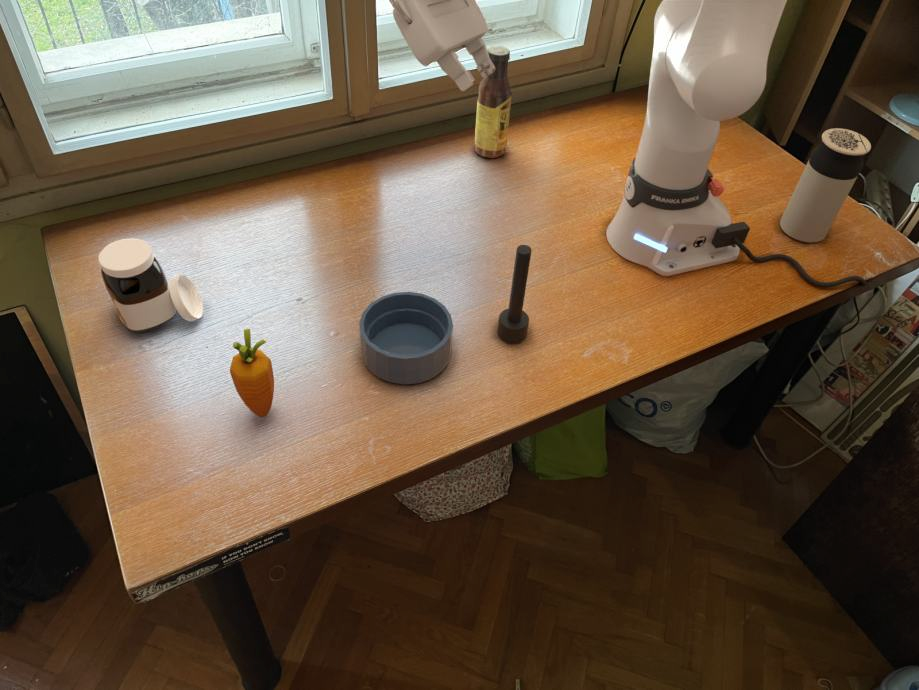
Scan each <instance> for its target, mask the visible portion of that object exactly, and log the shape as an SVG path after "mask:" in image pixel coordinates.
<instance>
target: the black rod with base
mask: <svg viewBox="0 0 919 690" xmlns="http://www.w3.org/2000/svg"><path fill="white" fill-rule="evenodd" d="M532 251H533V250H532V248H531V247H530V245H528V244H520V245H518V246H517V247H516V251H515V257H514V258H515V259H514V265H513V273H512V278H511V279H512V281H511V289H510V294H509V301H508V308H505V309H503V310H502V311H501V312H500V313H499V315H498V323H497V329H496V330H497V331H496V332H497V333H496V334H497V336H498V338H499V340H501V341H502V342H504V343H506V344H509V345H518V344H521V343H522V342H524V341H525V340H526V338H527V335H528V334H527V333H528V329H529V324H530V317H529V315H528V313H526V311H524V310H523V309H524V302H525V296H526V290H527V282H528V276H529V271H530V264H531V259H532V258H531V257H532Z"/></svg>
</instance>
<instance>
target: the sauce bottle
mask: <svg viewBox="0 0 919 690" xmlns="http://www.w3.org/2000/svg"><path fill="white" fill-rule="evenodd" d="M487 51H488V54H489V57H490V60H491V61H492V63H493V65H494V66H495V71H494V72H493V73H491V74H490V75H489V76H487V77H485V78H483V77H482V79H481V81H480V83H479V85H478V97H477V102H476V115H475V128H474V129H475V130H474V151H475V152H476V153H477V155H479V156H481V157H482V158H483V157H484V158H488V159H489V158H490V159H495V158H499V157H501V156H502V155H504V154H505V152H506V146H507V142H508V134H509V125H510V114H511V106H512V105H511V104H512V96H513V92H512V89H511V85H510V80H509V77H508V69H509V68H508V67H509V61H510V57H511V56H510V55H511V51H510V49H509V48H507V47H505V46H502V45H492V46H490V47H488V48H487Z"/></svg>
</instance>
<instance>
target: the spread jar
mask: <svg viewBox="0 0 919 690" xmlns="http://www.w3.org/2000/svg"><path fill="white" fill-rule="evenodd" d="M153 252H154V251H153V250H152V247H151V245H150V244H149V242H147V241H146V240H143V239H139V238H135V237H133V238H131V237H129V238H121V239H118V240H115V241H113V242H111V243H109V244H107V245H106V246H105V247H103V248H102V250H101V251H100V252H99V254H98V262H99V264H100V267H101V268H100V274H101V278H102V281H103V284H104V286H105V289H106V291H107V293H108V295H109V298H110V300H111V302H112V305H113V307H114V310H115V312H116V314H117V316H118V318H119V321H121V324H123V325H124V327H125V328H127V329H128V330H130V331H132V332H136V333H143V332H148V331H153V330H156V329H158V328H161V327H162V326H164V325H166V324H167V323H169V322H170V321H171V320H172V319H173V318H174V317H175V316H176V314H177V312H178V314H179V315H180V316H181V318H182V319H184V320H185V321H187V322H194V321H197V320H200V319H201V318H202V317H203V316H204V315H203V314H204V305H203V301H202V298H201V295H200V292H199V290H198V289H197V287H196V285H195V284H194V282H193V281H192V280H191V279H190V278H189V277H188V276H187V275H186V274H179V275H176V276H173V277H171V278H170V279H169V282H168V279H167V278H166V274H165V272H164V269H163V268H162V266H161V264H160V262H159V261H158V259H157V258H156V257H155V255H154V253H153Z"/></svg>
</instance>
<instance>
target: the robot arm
mask: <svg viewBox="0 0 919 690" xmlns="http://www.w3.org/2000/svg"><path fill="white" fill-rule="evenodd" d="M386 1H387V2H388V4H389V6H390V8H391V9H392V17H393V20H394V23H395V24H396V26H397V28H398V30H399V32H400V34H401V35H402V37H403V39H404V41H405V43H406V44H407V46H408V48H409V50H410V52H412V55H413V56H414V58H415V59H416V60H417V61H418V63H420V64H421V65H422V66H424V67H428V66H429V67H430V65H433V64H435V63H437V64H438V66H439V68H440V69H441V70H442V72H444V73H445V74H446V75H447V76H448V77H449V78H450V79H452V80H453V81H454V83H455V84H456V86H457V87H458V89H459V90H460V91H461V92H465V91H466V90H468V89H469V88H471V87H472V86H474V85H475V83H476V79H475V77H474V76H473V75H472V72H471V71H470V69H466V68H465V66H464V65H463V64H462V62H461V61H460V60H459V56H458V54H457V53H459V52H460V51H462V50H466V51H467V52H468V54H469V56H472V58H473V61H474V62H475V65H476V70H477V71H478V73H479V74H480V76H481V77H482V79H483V78H485V77H487V76H489V75H490V74H491V73H493V72H494V71H495V66H494V65H493V63H492V61H491V60H490V57H489V54H488V51H487V50H488V48H487V45H486V43H485V42H484V40H483V38H484V37H485V36H486V35H488V33H489V30H490V29H489V25H488V22H487V19H486V16H485V15H484V13H483V11H482V9H481V7H480V5H479V3H478V1H477V0H386ZM787 1H788V0H662V1H661V2H660V4H659V5H658V7H657V10H656V12H655V14H654V20H653V21H654V22H653V46H652V56H651V63H650V71H649V81H648V92H647V104H646V113H645V118H644V122H643V128H642V131H641V136H640V140H639V143H638V146H637V147H638V148H637V151H636V156H635V157H634V158H633V159H632V161H631V164H630V168H629V171H628V174H627V178H626V181H625V185H624V191H623V194H624V195H623V198H622V200H621V202H620V205H619V207H618V209H617V211H616V213H615V215H614V216H613V218H612V220H611V222H610V223H609V224H608V226H607V228H606V231H605V232H606V233H605V236H606V240H607V242H608V244H609V246H610V247H611V248H612V249H613V251H614V252H615V253H616V254H618V255H619V256H620V257H622V258H624V259H626V260H627V261H630V262H631V263H634V264H637V265H640V266H643V267H646V268H648V269H650V270H651V271H653V272H654V273H656V274H658V275H659V276H662V277H670V276H674V275H678V274H684V273H688V272H692V271H696V270H699V269H700V270H701V269H706V268H710V267H714V266H717V265H723V264H726V263H731V262H734V261H737V260H738V259H739V256H740V250H741V251H742V253H744V255H746V257H747V258H748V259H749V260H750V261H752V262H754V263H764V262H765V263H766V262H768V261H773V260H783V261H785V262H788V263H789V264H791V265H792V266H793V267H794V268H795V269H796V270H797V272H798V273H799V275H800V276H801V277H802V278H803V279H804V280H805V281H806V282H808V283H809V284H810V285H813V286H815V287H819V288H833V287H839V286H842V285H844V284H847V283H850V282H858V283H859V284H860V285H862V286H867V285H868V283H867V281H866V280H865V279H864V278H863V277H862V276H860V275H850V276H846V277H843V278H840V279H837V280H834V281H833V280H832V281H827V282H826V281H819V280H817V279H814V278H813V277H811V276H810V275H809V274H808V273H807V272H806V270H805V269H804V267H802V265H801V264H800V263H799V262H798V260H796V259H794V258H793V257H791V256H789V255H786V254H782V253H774V254H769V255H765V256H756V255H754V254H753V253H752V252H751V250H750V249H749V248H748V247H747V246H745V245H744V243H745V241H746V239H747V237H748V235H749V232H750V230H751V227H750V226H749V225H748V224H747V223H746V222H745V221H741V222H735V223H733V220H732V216H731V213H730V211H729V209H728V208H727V206H726V204H725V203H724V202H723V201H722V199H721V198H720V196H722V195H723V194H724V192H725V187H724V185H722V183H721V181H720V180H719V179H714V175H713V173H712V172H711V171H710V169H709V165H710V163H711V160H712V158H713V154H714V151H715V148H716V146H717V142H718V140H719V136H720V130H721V122H723V121H728V120H732V119H735V118H737V117H739V116H742V115H743V114H745V113H746V112H747V111H749V110H750V109H751V108H753V106H754V105H756V103H757V102H758V101H759V99H760V98H761V97H762V94H763V92H764V90H765V87H766V85H767V84H766V83H767V70H768V69H767V68H768V61H769V56H770V52H771V47H772V44H773V41H774V38H775V35H776V32H777V29H778V27H779V24H780V21H781V18H782V15H783V12H784V11H785V7H786V5H787Z"/></svg>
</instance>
